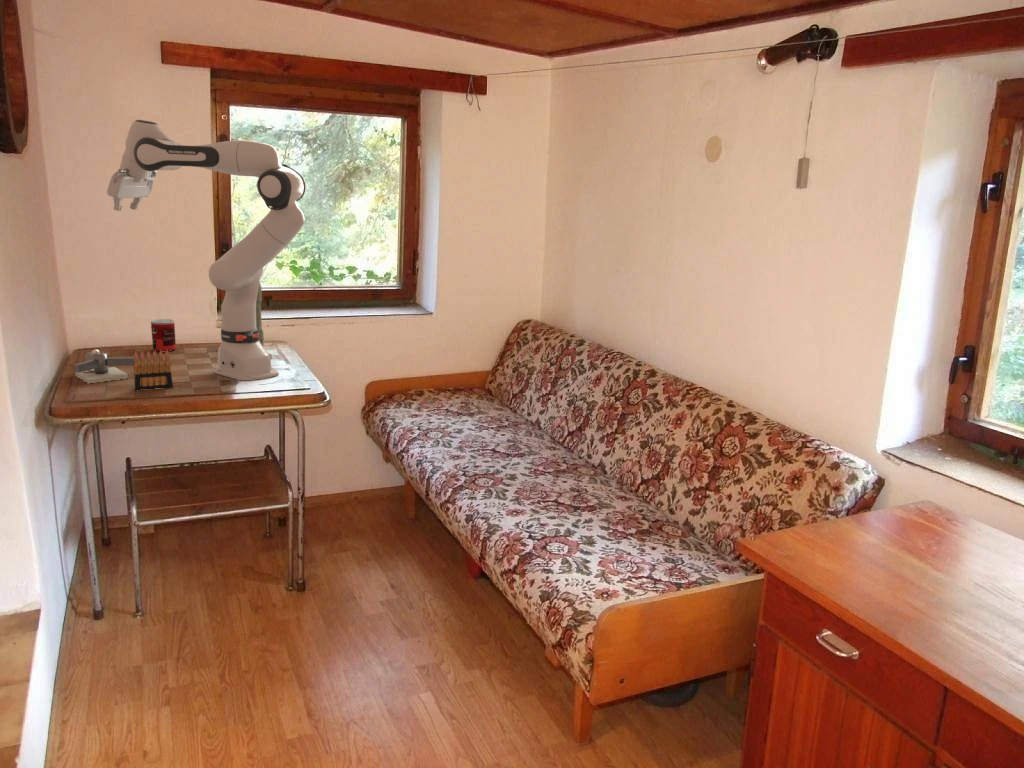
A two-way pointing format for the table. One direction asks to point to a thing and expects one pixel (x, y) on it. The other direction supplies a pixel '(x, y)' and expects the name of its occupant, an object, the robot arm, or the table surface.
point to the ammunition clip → (152, 371)
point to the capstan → (102, 362)
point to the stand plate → (102, 375)
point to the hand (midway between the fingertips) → (125, 209)
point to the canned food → (163, 334)
